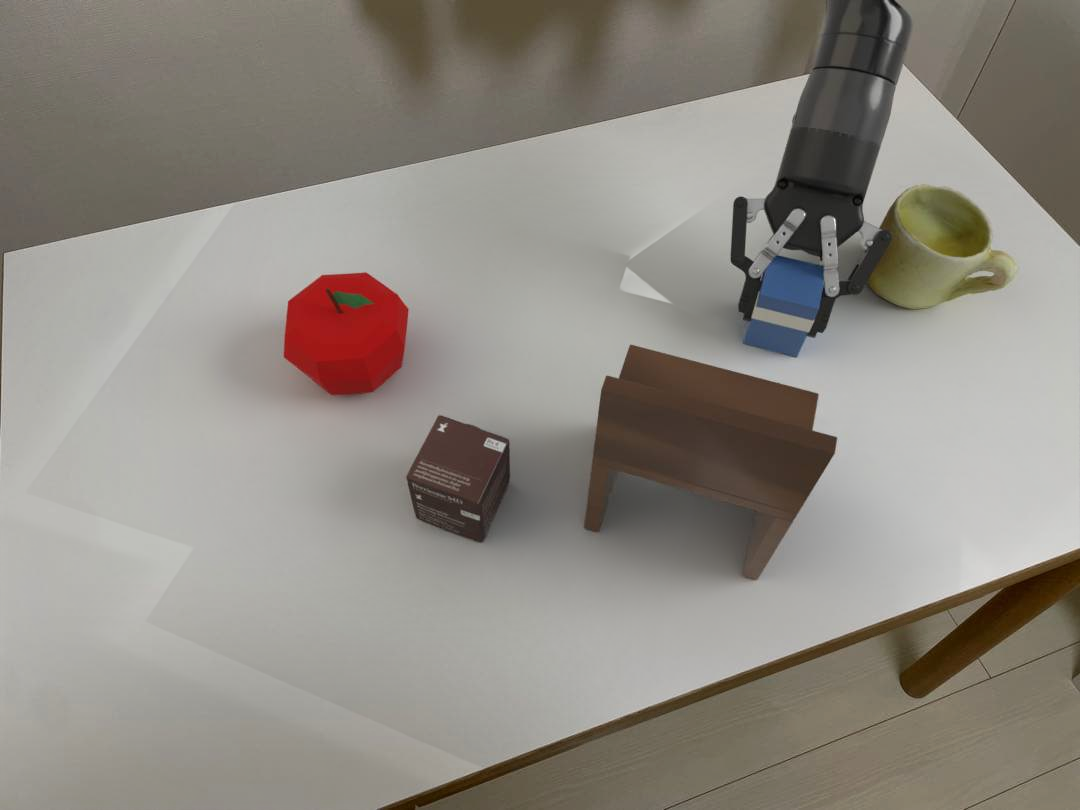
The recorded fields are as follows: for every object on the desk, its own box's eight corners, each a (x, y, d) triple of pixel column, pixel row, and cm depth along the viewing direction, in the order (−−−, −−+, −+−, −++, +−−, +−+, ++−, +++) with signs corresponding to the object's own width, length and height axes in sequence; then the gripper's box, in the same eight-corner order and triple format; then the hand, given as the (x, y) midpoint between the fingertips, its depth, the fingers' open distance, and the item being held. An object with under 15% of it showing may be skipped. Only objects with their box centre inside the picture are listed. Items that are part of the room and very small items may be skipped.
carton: (751, 303, 80) (769, 252, 75) (805, 316, 80) (827, 266, 74) (742, 344, 78) (759, 294, 72) (797, 358, 77) (819, 309, 71)
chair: (616, 427, 73) (641, 271, 56) (778, 472, 71) (855, 323, 54) (583, 528, 68) (600, 390, 51) (757, 581, 65) (835, 453, 49)
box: (414, 519, 68) (402, 476, 62) (445, 458, 71) (437, 412, 65) (483, 545, 67) (478, 504, 61) (512, 482, 70) (510, 437, 64)
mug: (825, 262, 81) (897, 185, 73) (874, 236, 87) (946, 163, 79) (916, 357, 78) (1001, 287, 70) (961, 324, 84) (1043, 256, 76)
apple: (275, 394, 74) (243, 323, 66) (328, 305, 80) (304, 229, 71) (387, 426, 73) (368, 357, 64) (432, 332, 78) (421, 258, 70)
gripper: (753, 110, 69) (697, 311, 73) (933, 148, 67) (865, 354, 71) (751, 122, 76) (700, 305, 80) (913, 157, 74) (853, 343, 78)
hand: (778, 327), depth 76 cm, fingers closed on carton, 5 cm apart
